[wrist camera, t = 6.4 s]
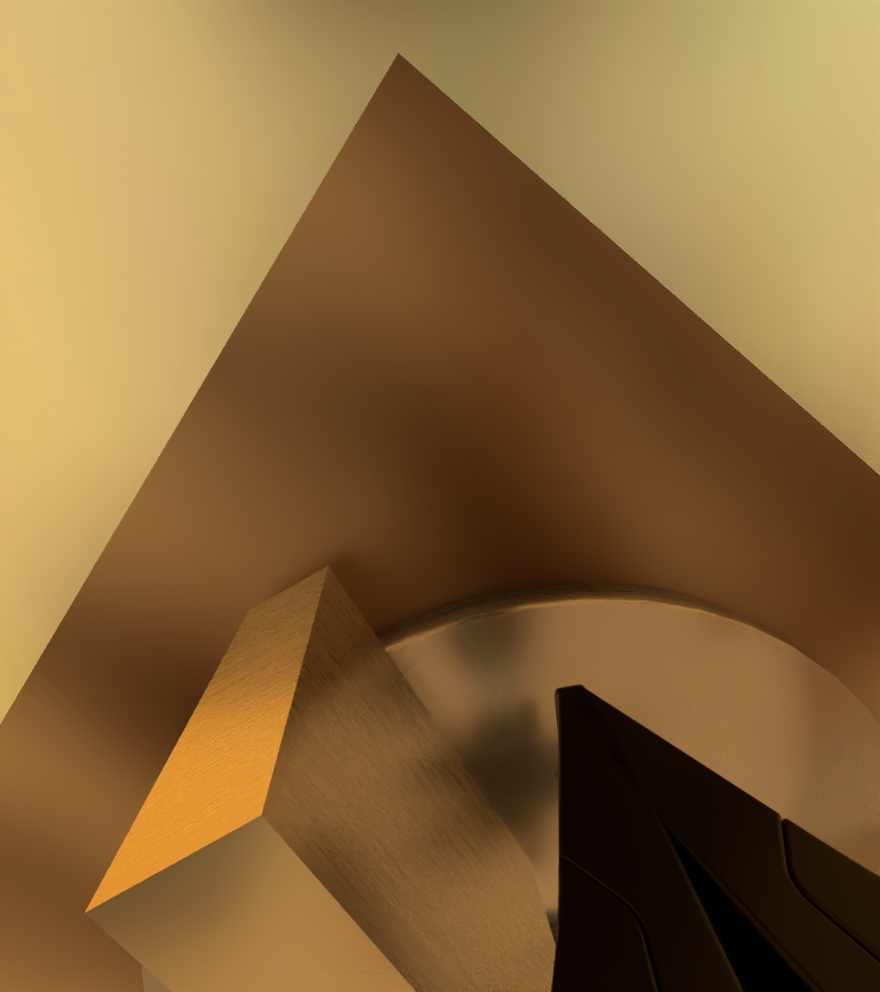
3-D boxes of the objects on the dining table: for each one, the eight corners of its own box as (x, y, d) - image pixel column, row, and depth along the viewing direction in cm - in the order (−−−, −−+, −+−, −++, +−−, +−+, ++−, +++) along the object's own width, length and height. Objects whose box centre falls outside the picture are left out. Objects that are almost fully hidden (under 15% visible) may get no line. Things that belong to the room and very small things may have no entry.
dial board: (395, 101, 9) (399, 45, 8) (1109, 707, 15) (1195, 748, 14) (-157, 1021, 13) (-234, 1114, 12) (588, 1220, 19) (607, 1300, 18)
